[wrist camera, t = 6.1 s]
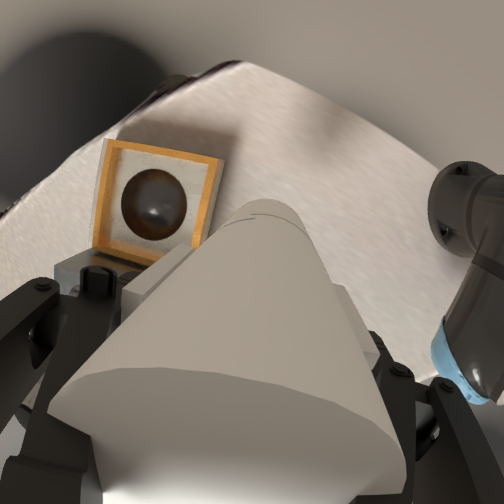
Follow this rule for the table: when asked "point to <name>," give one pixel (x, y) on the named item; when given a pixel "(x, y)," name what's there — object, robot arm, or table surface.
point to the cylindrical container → (237, 382)
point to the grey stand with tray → (144, 208)
